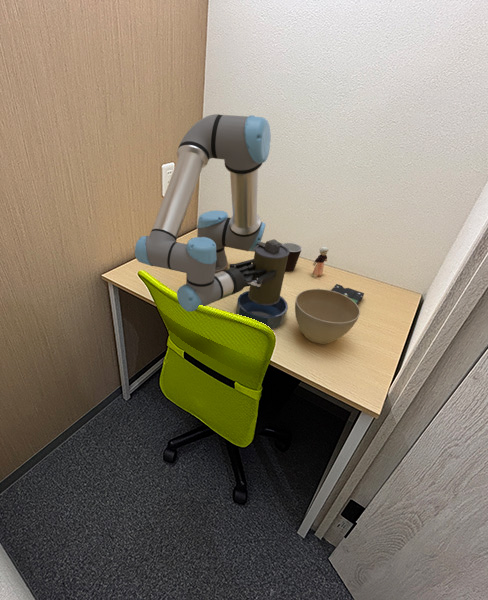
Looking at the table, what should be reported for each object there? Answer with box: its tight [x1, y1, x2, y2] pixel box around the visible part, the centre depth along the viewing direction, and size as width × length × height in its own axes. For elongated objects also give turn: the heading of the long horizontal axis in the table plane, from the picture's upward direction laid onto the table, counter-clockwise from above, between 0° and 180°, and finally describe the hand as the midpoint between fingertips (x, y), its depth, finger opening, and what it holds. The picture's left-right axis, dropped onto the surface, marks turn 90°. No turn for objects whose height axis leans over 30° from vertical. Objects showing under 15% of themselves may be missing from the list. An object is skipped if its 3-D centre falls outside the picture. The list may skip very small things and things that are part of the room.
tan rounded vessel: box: [294, 288, 361, 345], centre depth 104 cm, size 18×18×12 cm
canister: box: [248, 239, 290, 306], centre depth 107 cm, size 11×10×20 cm
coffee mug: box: [281, 242, 303, 273], centre depth 142 cm, size 12×9×10 cm
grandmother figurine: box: [311, 246, 329, 278], centre depth 136 cm, size 8×4×13 cm, turn 131°
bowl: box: [235, 290, 289, 330], centre depth 115 cm, size 17×17×5 cm
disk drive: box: [330, 283, 365, 306], centre depth 122 cm, size 10×3×15 cm
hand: (280, 261), depth 108 cm, fingers closed on canister, 2 cm apart
